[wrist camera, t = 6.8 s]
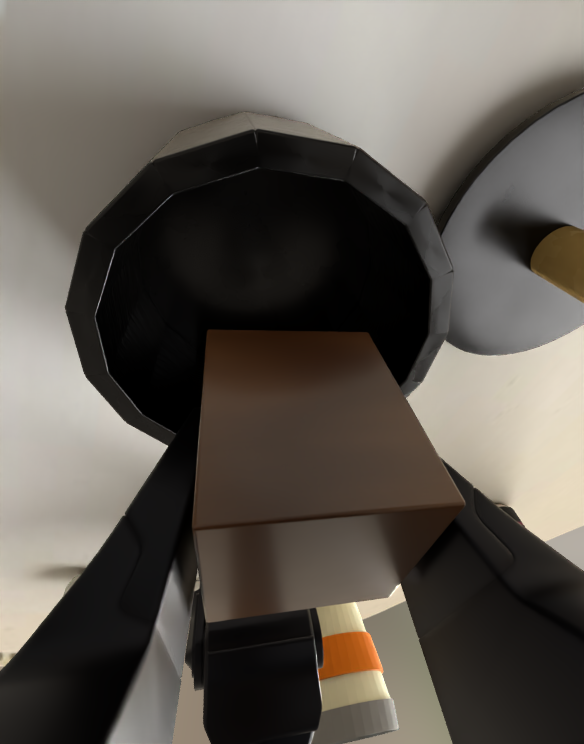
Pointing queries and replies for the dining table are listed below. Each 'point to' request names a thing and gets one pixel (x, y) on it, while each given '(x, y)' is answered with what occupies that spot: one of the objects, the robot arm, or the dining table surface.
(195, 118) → the dining table surface
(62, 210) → the dining table surface
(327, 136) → the tin
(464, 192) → the tin lid
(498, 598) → the robot arm
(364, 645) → the reusable coffee cup
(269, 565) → the block
